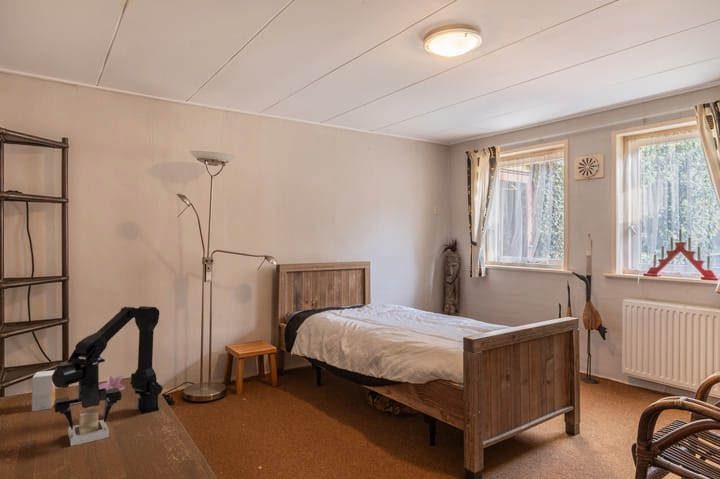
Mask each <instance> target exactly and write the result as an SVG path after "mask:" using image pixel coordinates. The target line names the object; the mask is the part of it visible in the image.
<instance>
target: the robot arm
mask: <svg viewBox="0 0 720 479" xmlns="http://www.w3.org/2000/svg"><path fill="white" fill-rule="evenodd" d="M133 318H134V322H135V325H136V326H137V329H138V332H139V334H138V350H137V352H138V354H137V360H138V361H137V368H136V370H135V372H134V373H131V376H130V379H131V380H130V383H129V384H130V385H131V389H133V390H134V393H135V395H138V397H137V398H136V399H137V400H136V402H137V403H136V409H137V411H139V413H140V414H147V413H150V412H156V411H159V410H160V407H159V395H160V394H162V391H163V388H164V386H162V385H161V384H160V383H159V382H158V381H157V373H156V371H155V370H154V368H153V357H154V356H153V355H154V354H153V353H154V330H155V328H156V327H157V325H158V323H159V319H160V309H159V308H157V307H156V306H148V305H147V306H146V305H145V306H143V305H141V306H138V307H137V308H136V307H134V306H124V307H122V308H121V309H119V312H118V313H116V314H115V315H114V316H113V317H112V318H111V319H110V320H109V321H107V322H106V323H105V324H104V325H103V326H102V327H101V328H100V329H99V330H97V331H95V333H92V334H90V335H88V336H86V337H84V338H82V339H80V340H79V341H78V342H77V344H76V345H75V349H74V350H73V352H72V353H71V355H70V357H69V358H68V360H66V361H67V363H64V364H58V365H57V366H56V369H54V370H55V371H54V373H53V375H52V381H53V384H54V385H55V388H59V389H60V388H63V387H66V386H70V385H72V384H76V383H78V398H73V399H70V397H69V396H64V397H60V398H55V401H54V404H53V407H54V408H53V409H54V413H59V414H61V415H62V414H63V415H64V416H65V418H66V419H67V421H68V425H69V427H71V429H73V426H74V423H73V416H72V411H71V406H76V405H77V406H78V405H81V408H82V409H87V408H91V407H98V406H99V405H100V402H101V401H104V406H103V418H102V420H104V422H106V421H107V418H108V415H109V413H110V411H111V409H112V407H113V405H114V404H117V403H118V401H121V400H122V391H121V390H119V389H118V388H115V389H109V390H106V388H103V389H99V385H100V384H99V380H100V378H99V375H100V371H99V370H100V369H99V368H100V367H99V365H100V364H102V363H104V362H105V361H106V359H104V358H103V357H101V354H103V352H104V351H105V350H106V349H107V347H108V343H109V342H110V340H111V339H112V338H113V337H114V336H115V335H117V334H118V333H119V332H120V331H121V330H122V329H123V328H124V327H125V326H126V325H127V324H128V323H129V322H130V321H131V320H132V319H133ZM106 423H107V422H106Z"/></svg>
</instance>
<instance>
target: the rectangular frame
mask: <svg viewBox="0 0 720 479" xmlns="http://www.w3.org/2000/svg"><path fill="white" fill-rule="evenodd" d="M67 432H68V433H67V435H68V439H69V444H70V445H69V446H70V447H73V446H77V445H81V444H85V443H86V444H87V443H90V442H94V441H99V440H102V439H107V438H109V437H110V435H109V434H110V429H109V427H108V425H107V422H104V419H100V420H98V431H93V432H89V433H84V434H80V435H79V424H75V425H73V429H71V427H70V426H68V429H67Z"/></svg>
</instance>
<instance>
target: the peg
mask: <svg viewBox="0 0 720 479" xmlns="http://www.w3.org/2000/svg"><path fill="white" fill-rule="evenodd" d="M98 421H99V411H98V409H97V407H94V408H91V409H90V408H89V409H85V410H79V411H78V425H79V434H78V435H80V434H84V433H89V432H93V431H98Z"/></svg>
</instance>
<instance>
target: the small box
mask: <svg viewBox="0 0 720 479" xmlns="http://www.w3.org/2000/svg"><path fill="white" fill-rule="evenodd" d="M55 370H56V369H54V370H43V371H36V372H35V373H34V375H33V376H32V379H31V380H32V382H31V383H32V386H31V390H32V391H31V397H32V399H31V412H37V411H45V410H51V409H52V408H53V407H54V401H55V400H56V386H55V385H54V384H53V381H52V375H53V373H54V371H55Z"/></svg>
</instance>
